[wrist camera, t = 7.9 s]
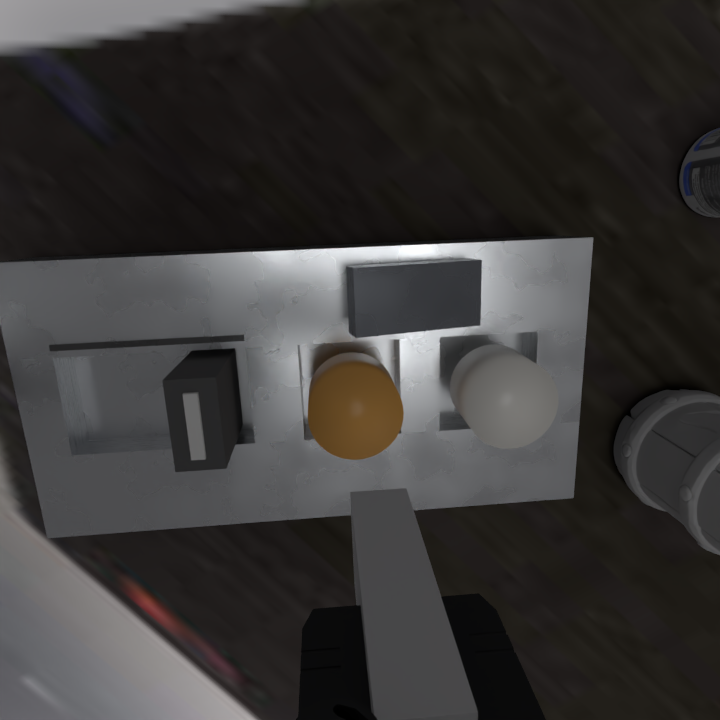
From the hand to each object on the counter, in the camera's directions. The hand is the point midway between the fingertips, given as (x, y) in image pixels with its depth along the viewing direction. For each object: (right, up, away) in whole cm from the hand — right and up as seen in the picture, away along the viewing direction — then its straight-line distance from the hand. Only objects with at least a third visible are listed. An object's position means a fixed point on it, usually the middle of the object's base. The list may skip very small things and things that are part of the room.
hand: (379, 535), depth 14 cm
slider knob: (-8, +3, +13) cm, 16 cm away
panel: (-3, +4, +16) cm, 17 cm away
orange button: (-1, +3, +12) cm, 12 cm away
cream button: (+6, +3, +12) cm, 14 cm away
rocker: (+2, +8, +10) cm, 12 cm away
